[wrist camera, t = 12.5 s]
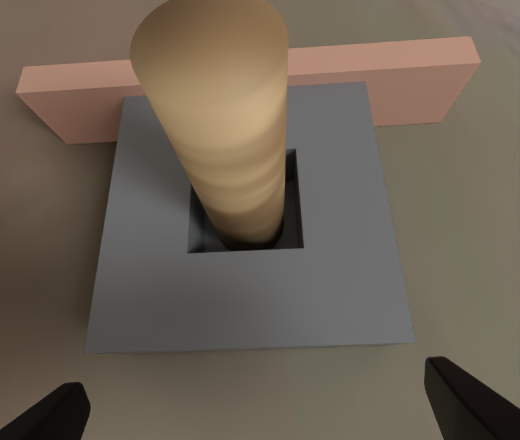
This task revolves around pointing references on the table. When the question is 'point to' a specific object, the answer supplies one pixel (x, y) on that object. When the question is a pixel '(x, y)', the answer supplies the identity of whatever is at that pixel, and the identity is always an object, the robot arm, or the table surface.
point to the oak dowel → (222, 108)
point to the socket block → (258, 261)
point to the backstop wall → (299, 73)
